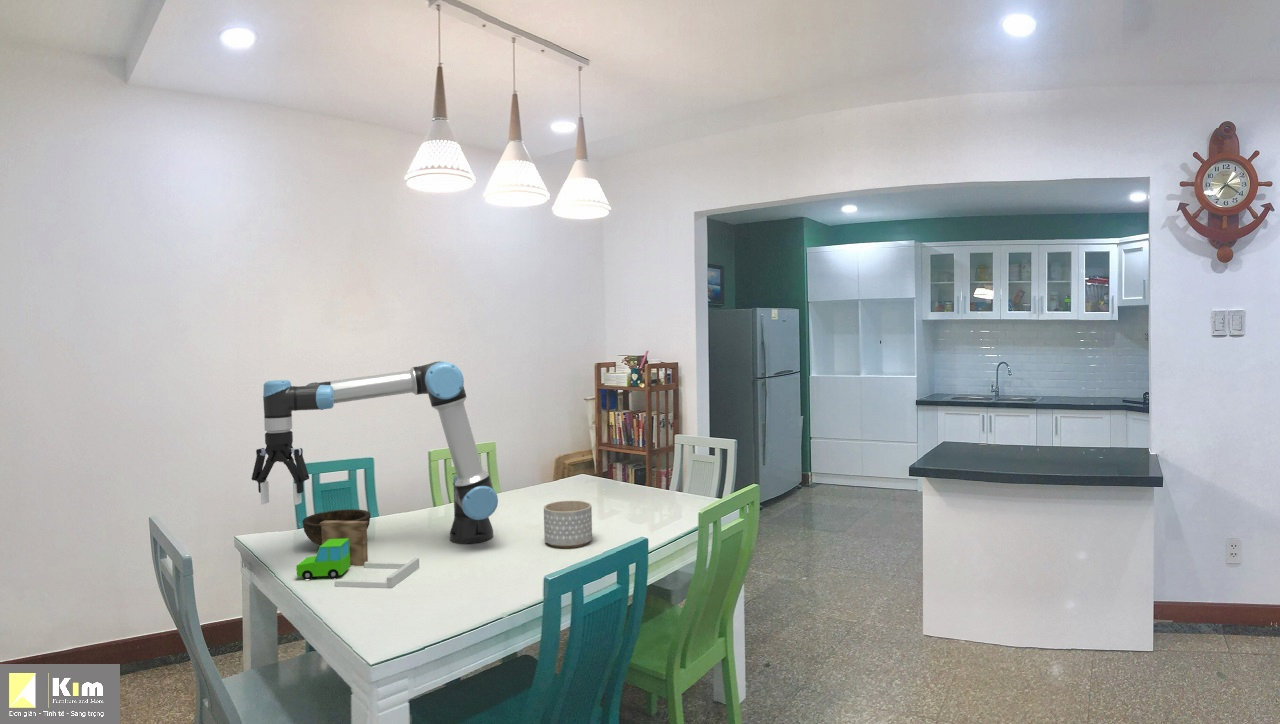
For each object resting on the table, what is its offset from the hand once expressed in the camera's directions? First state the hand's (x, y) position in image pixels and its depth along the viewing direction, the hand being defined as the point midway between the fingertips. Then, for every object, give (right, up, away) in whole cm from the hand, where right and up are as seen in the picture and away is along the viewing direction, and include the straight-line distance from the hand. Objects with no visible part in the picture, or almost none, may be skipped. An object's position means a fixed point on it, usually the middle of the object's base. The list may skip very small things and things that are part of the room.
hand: (281, 503), depth 217 cm
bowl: (+4, -21, +30) cm, 37 cm away
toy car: (+13, -22, -1) cm, 26 cm away
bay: (+30, -21, -3) cm, 37 cm away
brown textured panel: (+16, -21, +9) cm, 28 cm away
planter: (+85, -19, +29) cm, 92 cm away
